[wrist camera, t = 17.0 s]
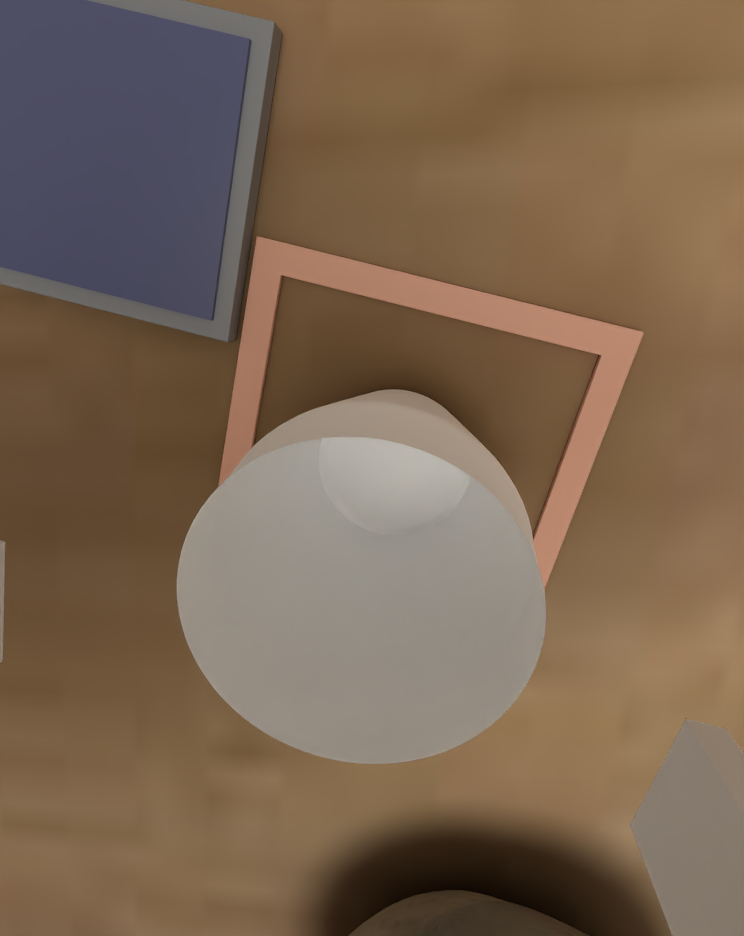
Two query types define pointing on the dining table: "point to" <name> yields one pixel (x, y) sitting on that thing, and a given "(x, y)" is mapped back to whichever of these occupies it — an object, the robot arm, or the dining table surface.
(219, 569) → the cup
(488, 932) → the bowl
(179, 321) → the ink pad
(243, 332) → the mark frame
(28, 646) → the dining table surface
